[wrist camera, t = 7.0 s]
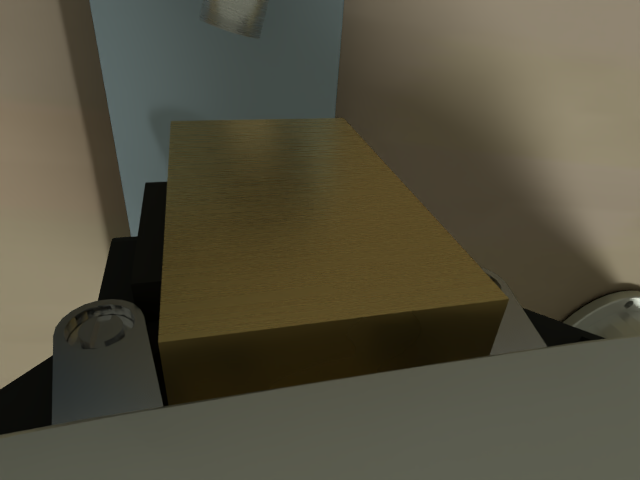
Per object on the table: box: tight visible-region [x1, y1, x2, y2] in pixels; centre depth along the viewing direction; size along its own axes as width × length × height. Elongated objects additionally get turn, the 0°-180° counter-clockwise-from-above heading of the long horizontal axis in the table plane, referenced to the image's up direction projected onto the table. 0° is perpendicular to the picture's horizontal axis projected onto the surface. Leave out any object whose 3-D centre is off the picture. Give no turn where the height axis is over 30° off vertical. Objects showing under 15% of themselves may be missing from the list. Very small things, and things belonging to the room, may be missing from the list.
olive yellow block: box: [158, 118, 509, 405], centre depth 9 cm, size 5×4×7 cm
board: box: [89, 0, 344, 237], centre depth 24 cm, size 24×11×2 cm, turn 176°
